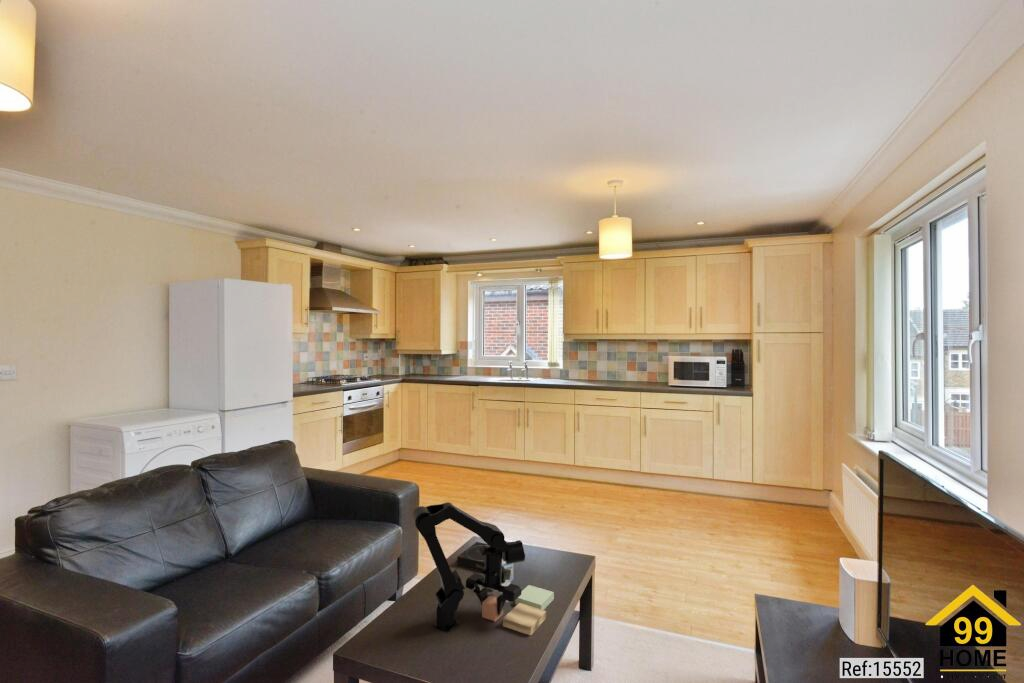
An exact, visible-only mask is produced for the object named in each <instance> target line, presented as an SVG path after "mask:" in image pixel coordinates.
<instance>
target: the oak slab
mask: <svg viewBox="0 0 1024 683" xmlns="http://www.w3.org/2000/svg"><path fill="white" fill-rule="evenodd" d="M546 619H547V611H546V609H544V610H541V609H538V608H535V607H532V606H528V605H525V604H522V603H519V604H518V605H515V606H514V607H513V608H512V609H511V610H510V611H508V613H507V614H505V616H504V617H502V627H503V628H507V629H510V630H513V631H516V632H519V633H522V634H524V635H528V636H532V635H533V634H534V633H535V632H536V630H538V628H539V627H540V626H541V625H542V623H543V622H545V620H546Z"/></svg>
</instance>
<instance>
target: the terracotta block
mask: <svg viewBox="0 0 1024 683" xmlns="http://www.w3.org/2000/svg"><path fill="white" fill-rule="evenodd" d="M481 607H482V610H481V617H482V618H484V619H487V620H490V621H492V622H496V621H497V620H498V619H499V618H501V617H502V616H503V615H504V608H503V609H502V612H501V614H500V615H498V611H497V597H494V596H493V595H489V596H488V598H486V599H485V600H484V601H483V602H482V604H481Z"/></svg>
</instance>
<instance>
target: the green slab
mask: <svg viewBox="0 0 1024 683" xmlns="http://www.w3.org/2000/svg"><path fill="white" fill-rule="evenodd" d="M554 598H555V591H551V590H547V589H544V588H540V587H538V586H534V585H530V584H528V585H527V586H525V588H524V589H522V590H521V595H520V596H519V597H518V598H517V599H516V600H515V601H514V604H515V606H517V605H518V604H519V603H522V604H525V605H528V606H532V607H535V608H538V609H541V610H546V608H547V607H548V606H549V605H550V604H551V602H553V601H554Z"/></svg>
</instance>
